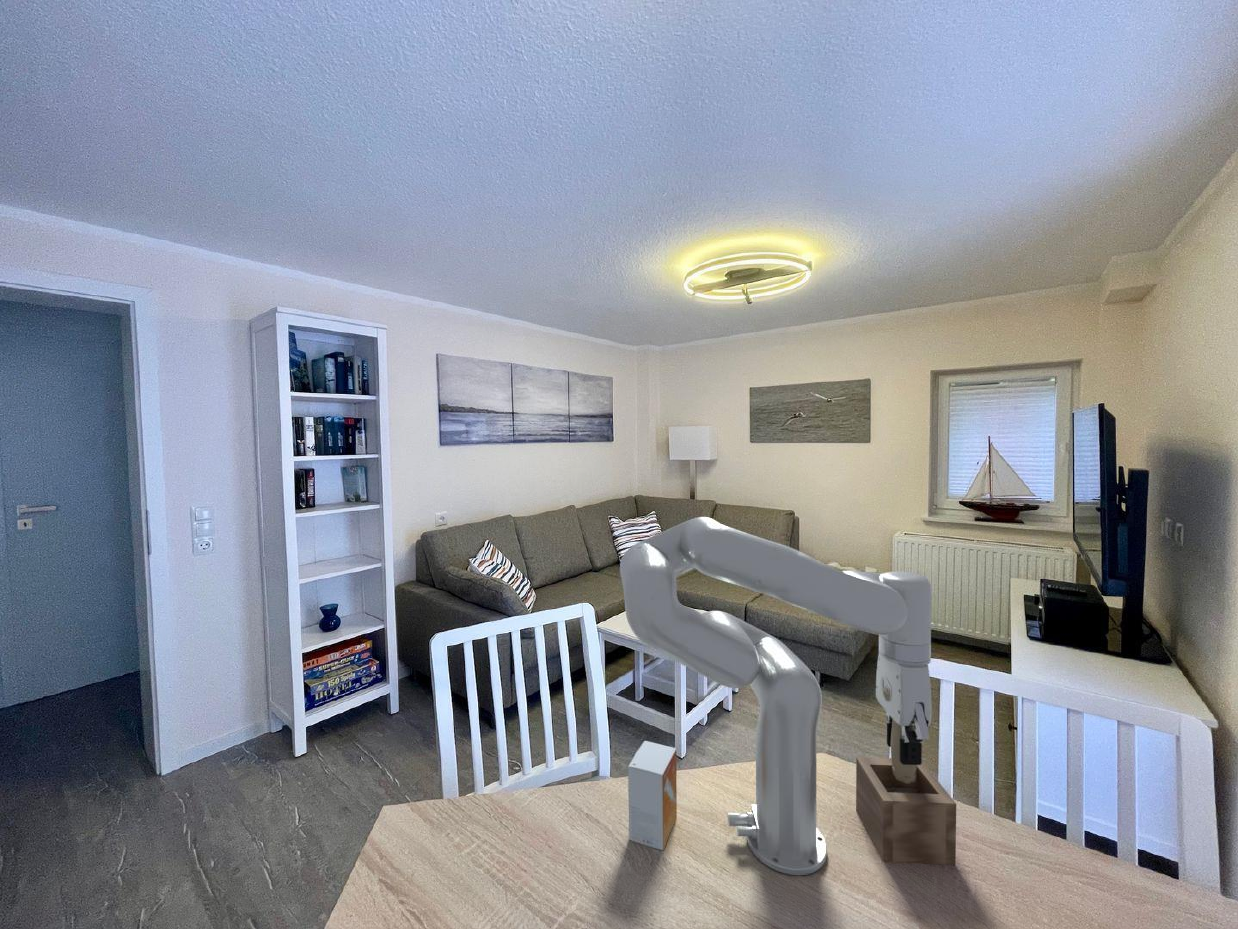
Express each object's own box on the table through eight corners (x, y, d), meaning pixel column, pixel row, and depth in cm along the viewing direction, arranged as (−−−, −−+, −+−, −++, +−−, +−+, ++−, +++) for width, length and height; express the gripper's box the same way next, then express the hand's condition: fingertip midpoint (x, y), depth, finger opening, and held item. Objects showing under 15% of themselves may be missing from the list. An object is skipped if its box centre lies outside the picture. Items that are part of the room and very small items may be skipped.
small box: (663, 852, 83) (662, 775, 82) (628, 840, 85) (626, 766, 84) (678, 818, 90) (677, 747, 89) (644, 808, 93) (643, 739, 92)
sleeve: (882, 861, 80) (883, 800, 80) (856, 810, 91) (856, 757, 90) (955, 865, 79) (956, 803, 79) (919, 813, 90) (920, 759, 90)
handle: (931, 790, 82) (931, 700, 81) (888, 786, 83) (888, 697, 82) (918, 771, 86) (919, 685, 86) (878, 767, 88) (878, 683, 87)
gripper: (860, 628, 92) (860, 726, 93) (905, 670, 76) (904, 788, 76) (903, 629, 92) (903, 727, 92) (957, 671, 75) (956, 790, 76)
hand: (903, 753), depth 84 cm, fingers closed on handle, 3 cm apart
